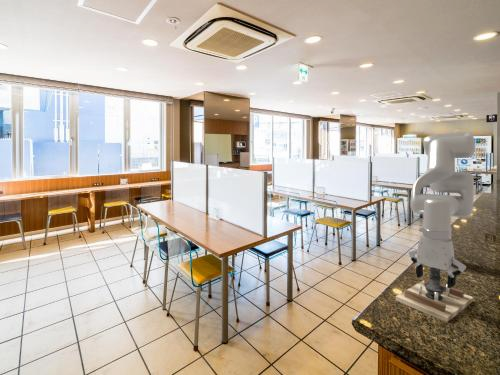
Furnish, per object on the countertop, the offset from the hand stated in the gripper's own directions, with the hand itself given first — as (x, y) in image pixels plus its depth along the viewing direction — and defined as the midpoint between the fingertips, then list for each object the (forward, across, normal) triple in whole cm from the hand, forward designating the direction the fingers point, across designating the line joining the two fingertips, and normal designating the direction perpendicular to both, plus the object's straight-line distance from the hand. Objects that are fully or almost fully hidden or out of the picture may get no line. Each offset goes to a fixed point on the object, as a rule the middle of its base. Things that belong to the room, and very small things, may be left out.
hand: (434, 281), depth 94 cm
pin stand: (+7, 0, 0) cm, 7 cm away
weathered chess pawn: (+6, 0, 0) cm, 6 cm away
